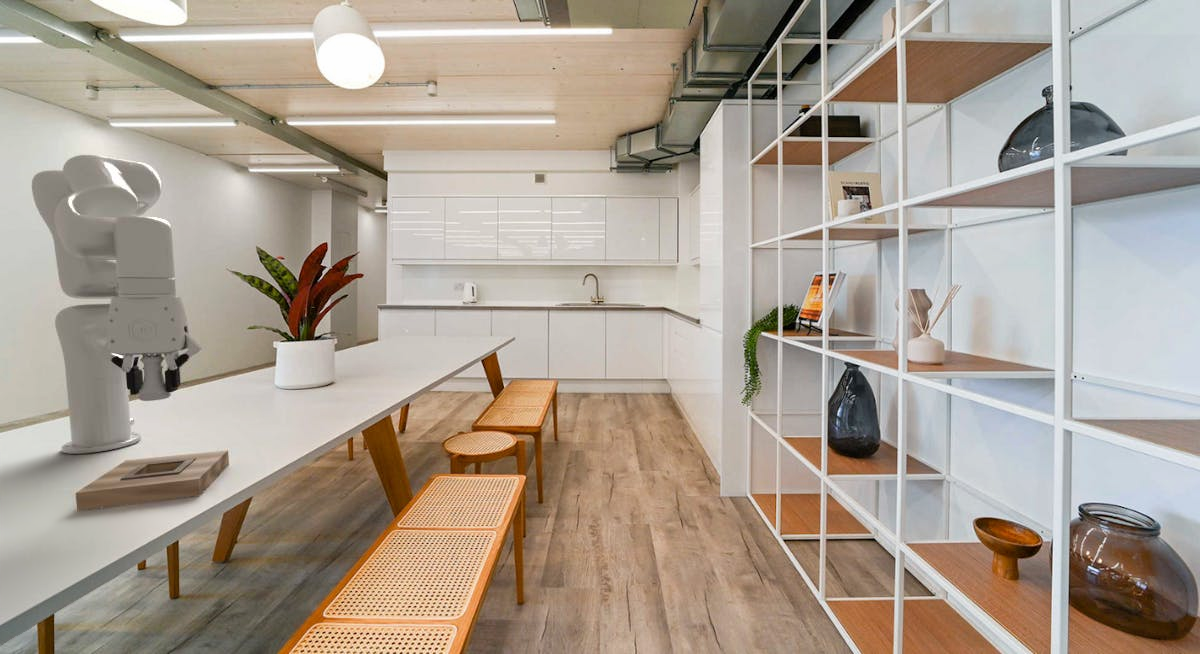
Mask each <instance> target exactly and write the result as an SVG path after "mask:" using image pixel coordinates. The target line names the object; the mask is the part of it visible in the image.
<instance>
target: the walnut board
mask: <svg viewBox="0 0 1200 654" xmlns="http://www.w3.org/2000/svg"><path fill="white" fill-rule="evenodd" d="M229 459H230V458H229V450H228V449H227V450H217V451H207V452H199V453H198V452H197V453H185V454H177V455H168V456H167V455H165V456H157V457H147V458H139V459H138V458H137V459H129V460H127V459H125V460H124V461H123V462H121V463H120V464H118V465H116V466H114V468H112V469H110V470H109V471H107V472H105V473H104V474H102V475H101V476H100V477H98V478H97V479H94V480H93V481H91V482H90V483H89V484H87V485H85V486H84V487H82V488H81V489H79V490H78V491H76V492H75V501H76V511H77V512H79V510H82V511H87V510H86V509H90V510H94V509H93V508H98V509H102V508H101V507H106V508H111V507H110V506H114V507H120V505H122V506H128V505H129V504H130V505H136V503H138V504H145V503H153V501H154V502H160V500H162V501H169V499H170V500H176V498H178V499H184V497H186V498H192V497H191V496H194V497H199V496H198V495H200V496H201V495H202V494H204V492H205V491H206V490H207V489H208V488H209V487H210V486H211V485H212V484H213V483H214V481H215V480H216V479H218V477H219V476H220V475H221V474H222V473H223V472H224V471H223V470H224V469H225V468H226V467H227V468H228V466H230V460H229ZM227 468H226V469H227ZM226 469H225V470H226ZM222 471H223V472H222ZM221 472H222V473H221ZM220 473H221V474H220ZM219 474H220V475H219ZM210 484H211V485H210ZM209 485H210V486H209ZM208 486H209V487H208ZM207 487H208V488H207ZM206 488H207V489H206ZM203 491H204V492H203ZM167 499H168V500H167ZM127 504H128V505H127ZM130 505H129V506H130Z"/></svg>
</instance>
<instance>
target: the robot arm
mask: <svg viewBox="0 0 1200 654" xmlns="http://www.w3.org/2000/svg"><path fill="white" fill-rule="evenodd" d="M31 192H32V198H33V201H34V203H35V206H36V209H37V211H38V213H39V215H40V217H41V218H42V220H43V221H44V223H45V225H46V226H47V228H48V229H49V232H50V233H51V237H52V239H53V240H52V241H53V245H54V251H55V252H54V253H55V260H56V269H57V275H58V280H59V285H60V288H61V289H62V292H63V293H64V294H65V295H66V296H67V297H70V298H72V299H80V300H108V299H109V300H110V302H109V303H94V304H93V303H92V304H91V303H90V304H89V303H87V304H86V303H85V304H78V305H70V306H67V307H65V308H63V309H61V310H60V311H59V312H58V313H57V314H56V317H55V319H54V320H55V321H54V327H55V331H56V333H57V337H58V341H59V342H60V343H59V344H60V347H61V350H62V357H63V360H64V362H63V363H64V370H65V378H66V379H65V380H66V392H67V403H68V416H69V425H70V426H69V427H70V437H71V438H70V439H71V441H68V442H66V443H64V444H63V445H62V446H61V452H62V453H64V454H69V455H75V454H76V455H77V454H80V455H81V454H90V453H91V454H93V453H99V452H105V451H111V450H116V449H120V448H124V447H128V446H131V445H134V444H136V443H138V442H139V441H141V438H142V435H141V434H140V433H138V432H134V431H133V432H132V428H131V427H132V426H133V425H134V424H135V420H134V418H132V417H131V415H130V414H131V412H130V411H131V410H130V400H129V398H130V397H129V393H130V396H135V395H138V394H139V393H138V392H139V390H140V389H141V388H142V385H143V381H144V374H143V373H144V372H143V369H140V365H139V364H140V359H141V356H143V355H147V354H148V355H150V354H154V355H156V354H162V355H163V357H164V358H165V359H164V360H165V362H166V365H167V367H166V370H165V371H164V380H165V385H166V392H168V393H171V394H172V393H173V392H175V391H178V389H179V388H178V387H180V386H181V369H180V368H182V367H183V365H184V364H186V363H187V362H188V361H189V360H190V359H191V358H192V357H193V358H194V357H195V356H197V354H199V353H201V352H202V351H203V348H202V347H201V345H199V344H198V343H197V342H196V340H195V339H194V338H192V336H191V335H190V332H189V331H190V329H189V325H188V324H189V323H188V319H187V314H186V311H185V307H184V303H183V301H182V297H181V296H177V291H176V290H177V289H176V279H175V275H176V274H175V273H176V272H175V261H174V260H175V258H174V244H173V231H172V226H171V224H170V223H169V222H168V221H167V220H166V219H162V218H159V217H153V216H143V215H144V214H145V213H146V212H147V211H148V210H149V209H151V208H152V207H153V206H154V205H155V204H156V203H158V200H159V199H160V196H161V193H162V183H161V179H160V177H159V174H158V173H157V171H156V170H155V169H154V168H153V167H152V166H151V165H148V164H146V163H143V162H139V161H134V160H133V161H132V160H128V159H127V160H126V159H120V158H114V157H109V156H108V157H107V156H103V155H94V154H81V155H80V154H79V155H76V156H75V155H74V156H73V157H70V158H68V159H67V160H66V162H65V163H64V164H63V167H62V170H59V169H58V170H56V169H54V170H53V169H52V170H44V171H40V172H38V173H36V174H34V175H33V177H32V180H31ZM183 350H186V351H185V352H184V353H181V354H180V353H179V352H180V351H183Z"/></svg>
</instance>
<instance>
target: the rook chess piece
mask: <svg viewBox="0 0 1200 654" xmlns="http://www.w3.org/2000/svg"><path fill="white" fill-rule="evenodd" d="M164 360H165V357H164V356H163V354H147V355H142V357H140V360H139V362H141V363H142V364H143V367H142V369H141V370H142V371H143V373H144V374H143V385H142V388H141V389H140V390H139V392H138V394H139V396H138V398H137V399H139V400H140V401H142V402H151V401H160V400H166V399H168V398H170V397H171V396H172V392H171V393H168V392H166V385H165V376H164V373H163V368H164V366H163V364H162V363H163V362H164Z"/></svg>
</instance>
